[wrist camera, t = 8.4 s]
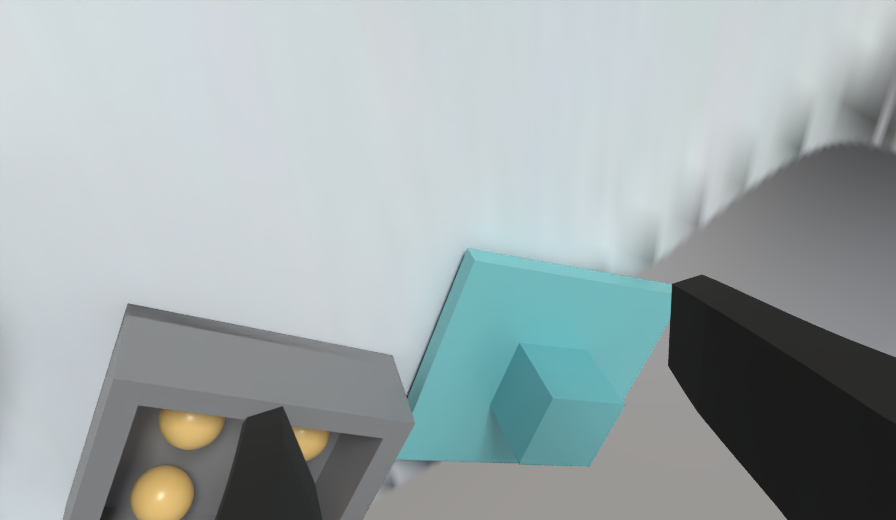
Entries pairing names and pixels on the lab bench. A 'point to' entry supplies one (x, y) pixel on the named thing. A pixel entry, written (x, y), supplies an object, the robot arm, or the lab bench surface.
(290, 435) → the robot arm
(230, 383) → the box
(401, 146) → the lab bench surface
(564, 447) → the lid
